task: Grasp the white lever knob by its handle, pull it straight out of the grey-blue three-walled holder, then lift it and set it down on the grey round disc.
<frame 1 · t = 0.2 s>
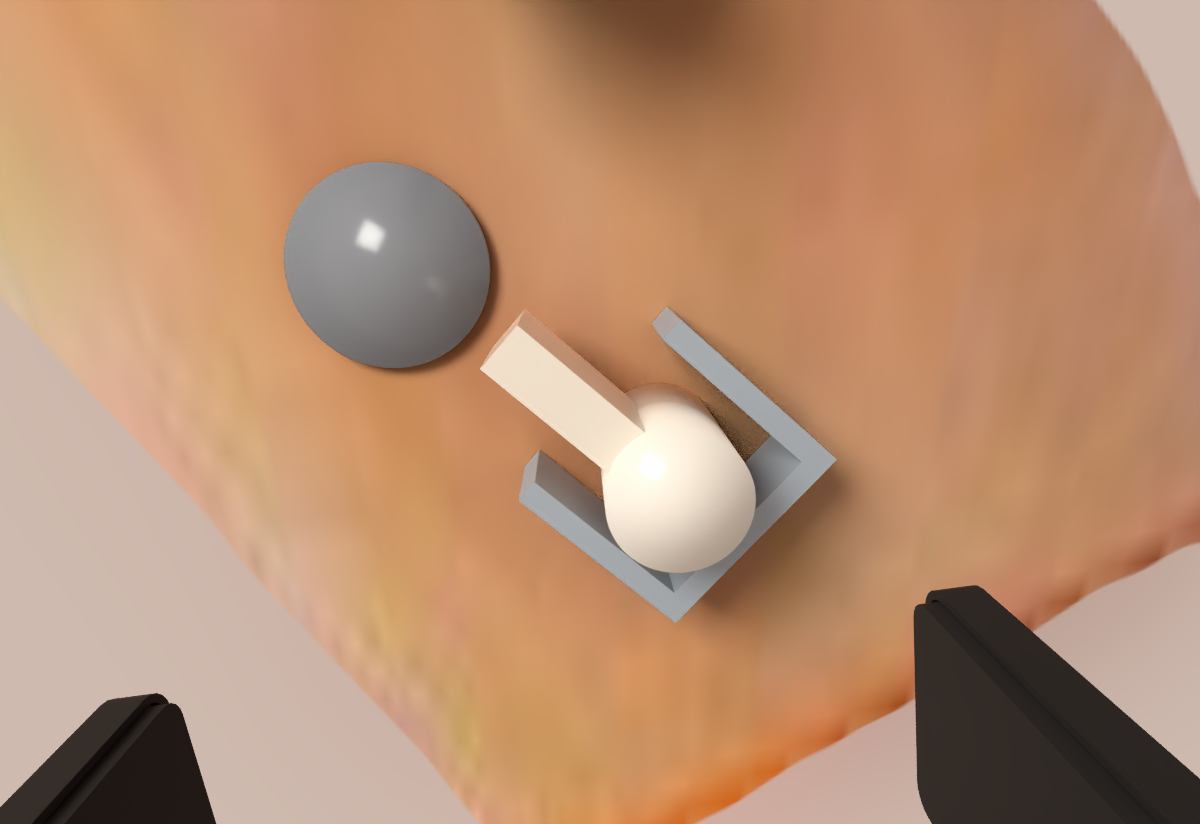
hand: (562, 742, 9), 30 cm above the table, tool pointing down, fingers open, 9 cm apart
white lever knob: (656, 440, 40), on the table
grey round disc: (390, 267, 37), on the table
holder: (657, 440, 40), on the table
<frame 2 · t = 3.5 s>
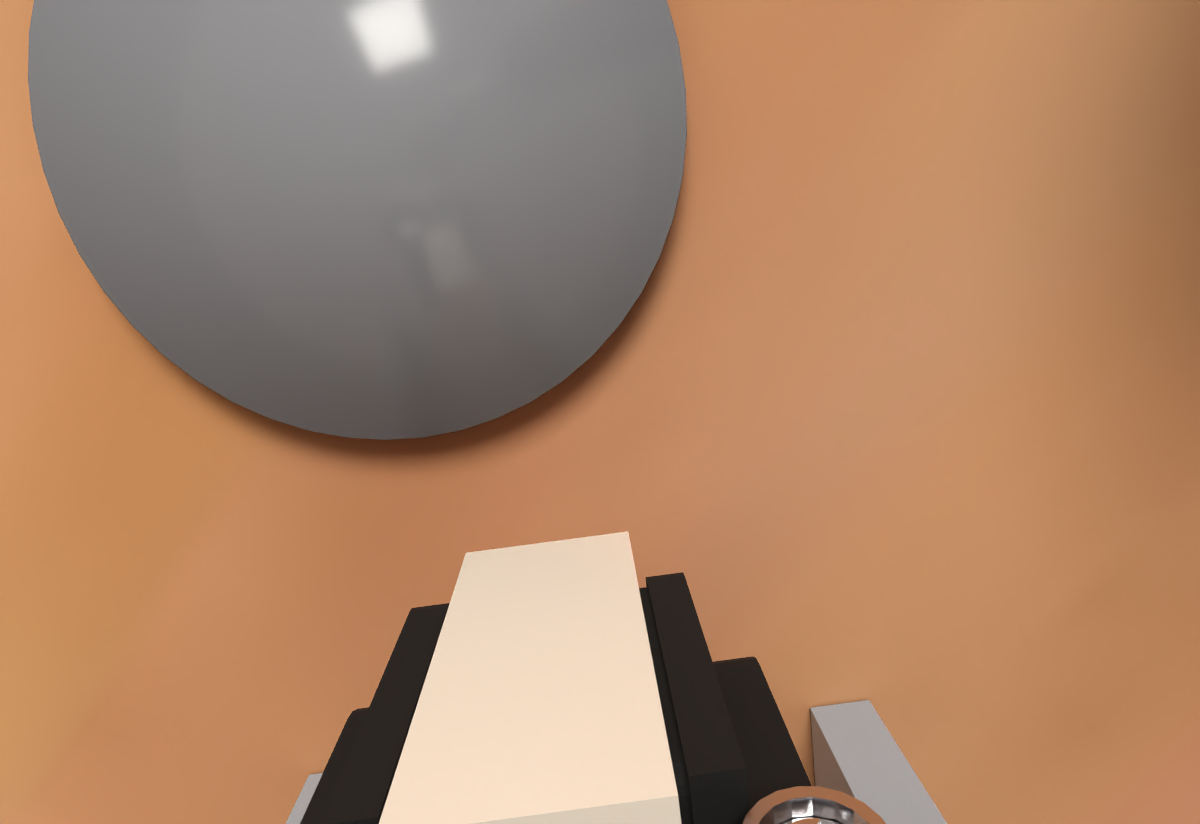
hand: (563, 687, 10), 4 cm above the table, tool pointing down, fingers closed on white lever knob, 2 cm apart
grey round disc: (375, 134, 12), on the table
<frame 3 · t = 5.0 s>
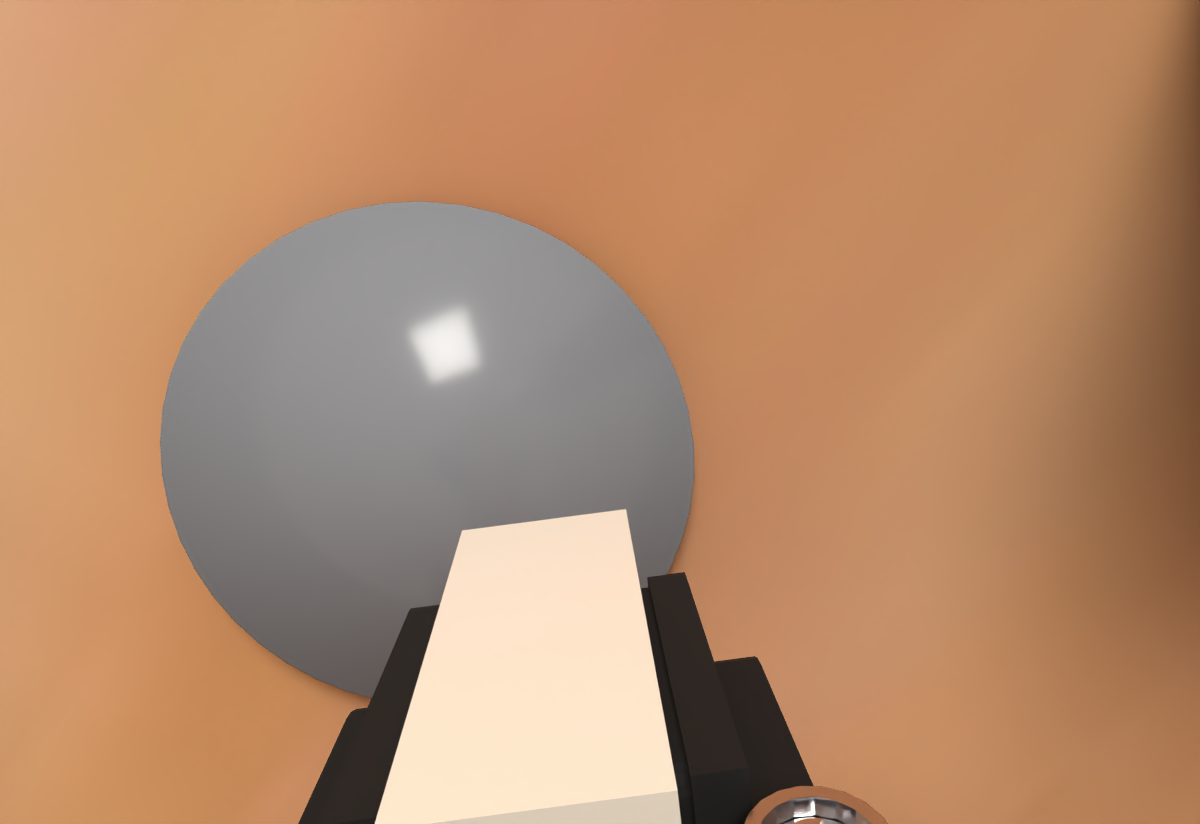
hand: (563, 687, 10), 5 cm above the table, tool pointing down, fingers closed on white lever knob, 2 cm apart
grey round disc: (437, 465, 15), on the table
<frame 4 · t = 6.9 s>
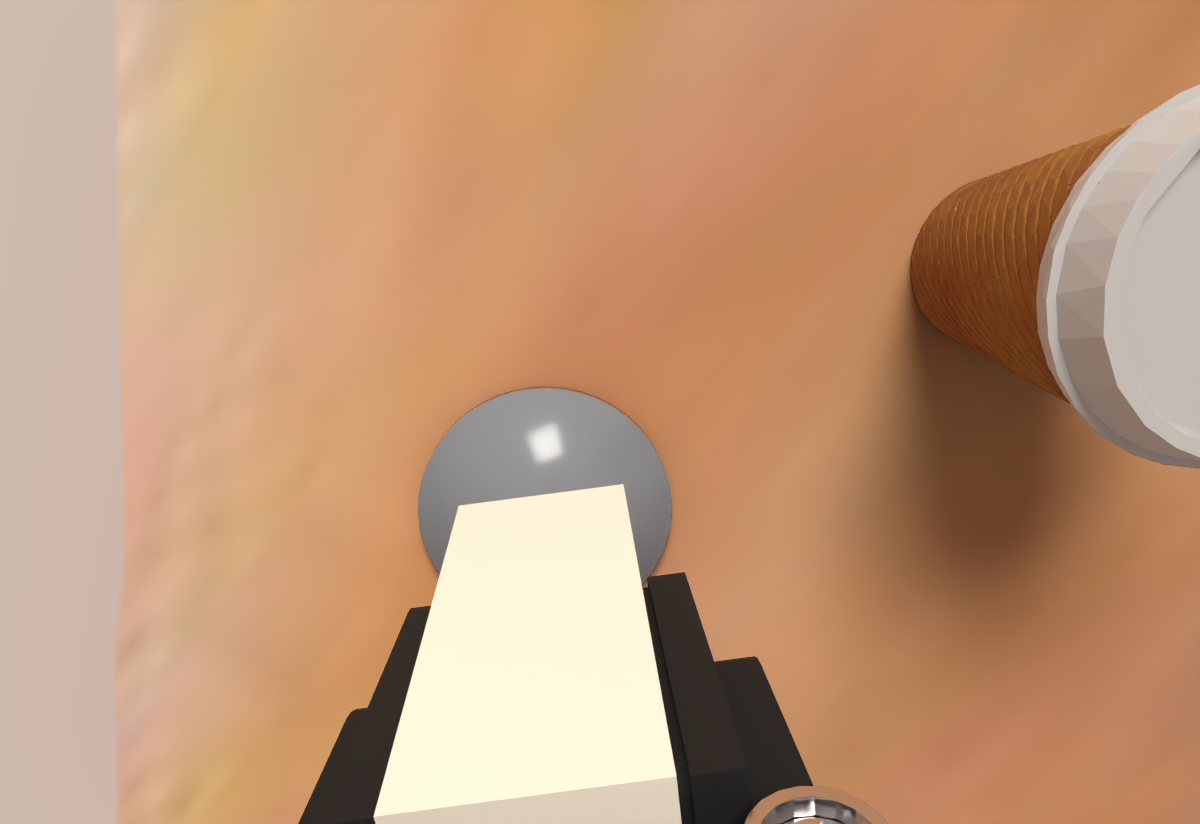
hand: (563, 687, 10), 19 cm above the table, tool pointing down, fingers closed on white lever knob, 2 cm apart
grey round disc: (546, 507, 30), on the table
disposable coffee cup: (988, 261, 28), on the table
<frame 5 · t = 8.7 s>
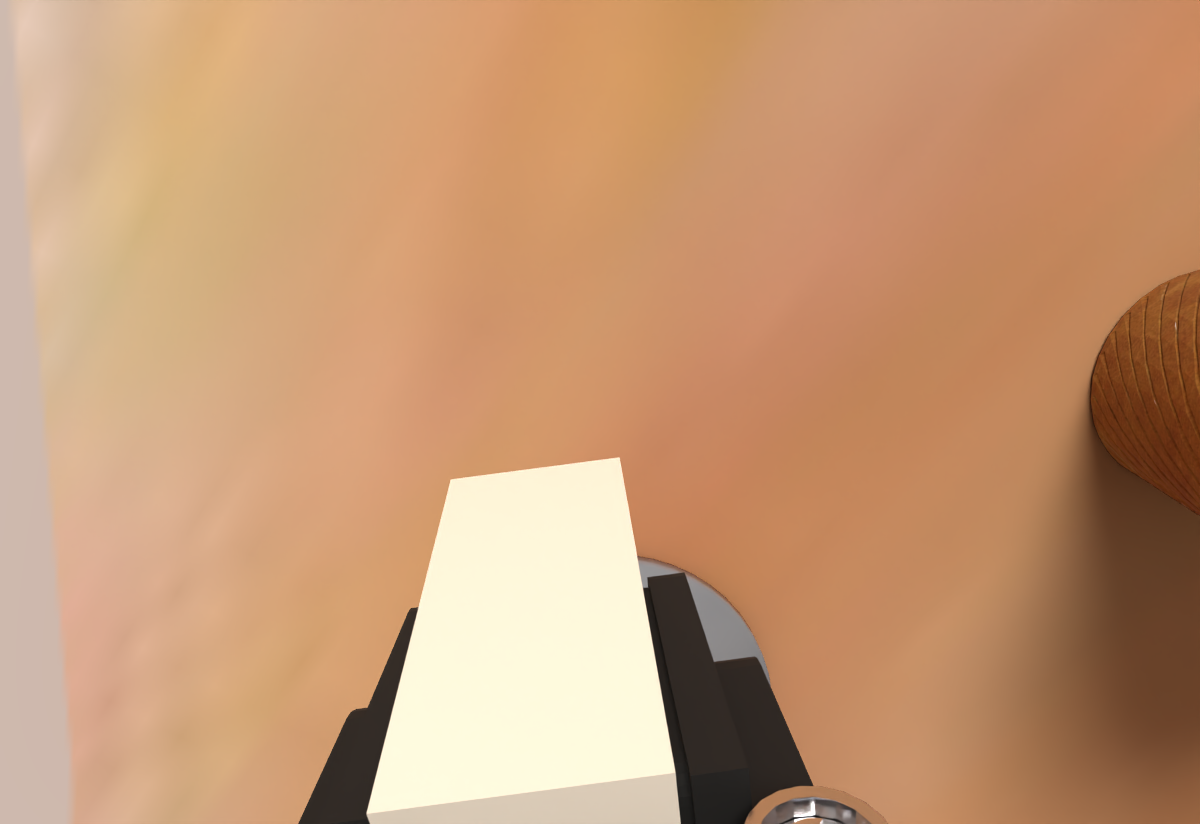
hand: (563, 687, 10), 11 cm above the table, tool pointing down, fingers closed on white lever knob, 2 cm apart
white lever knob: (603, 785, 17), point 6 cm above the table, tilted 10°, touching gripper
grey round disc: (607, 701, 23), on the table
disposable coffee cup: (1192, 377, 21), on the table
when the fingers open (6 cm above the table, at t = 10.3 s): white lever knob stays where it is, resting on grey round disc.
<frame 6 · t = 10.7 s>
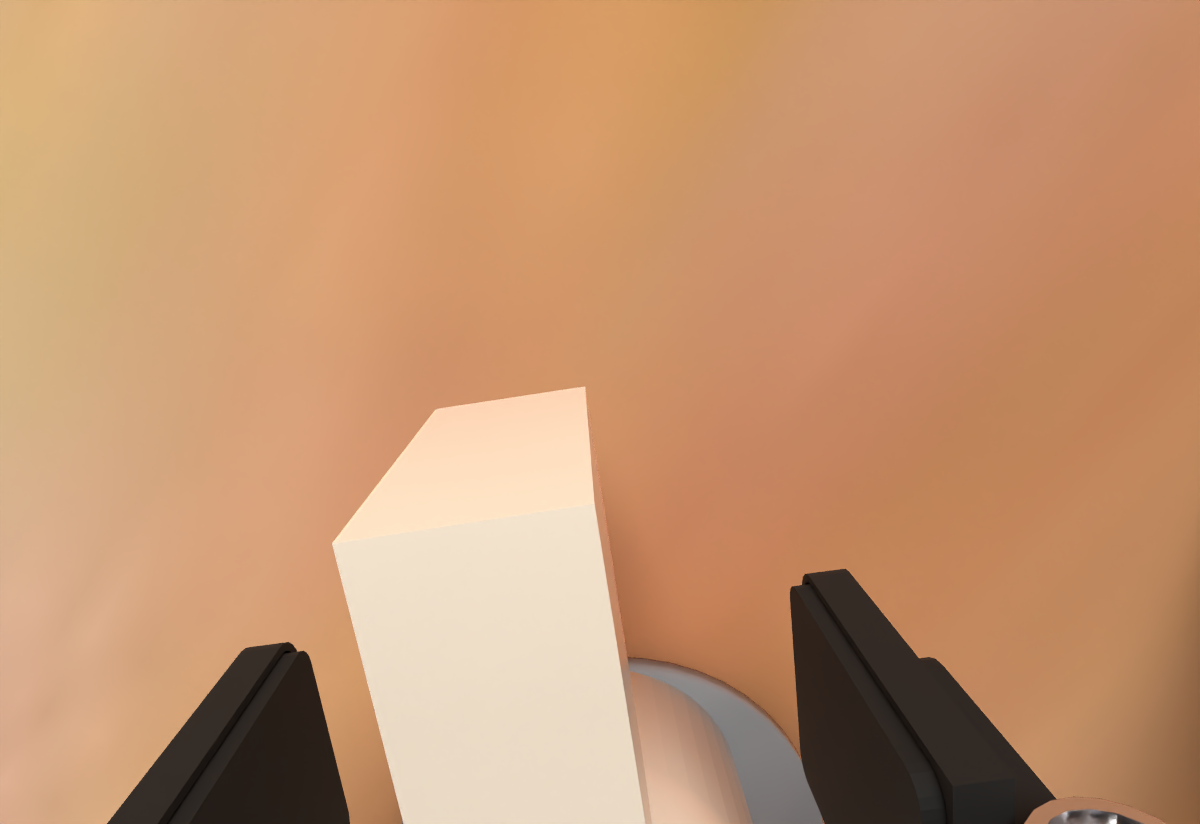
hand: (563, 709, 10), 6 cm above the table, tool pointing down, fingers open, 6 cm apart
white lever knob: (597, 793, 17), point 1 cm above the table, touching grey round disc
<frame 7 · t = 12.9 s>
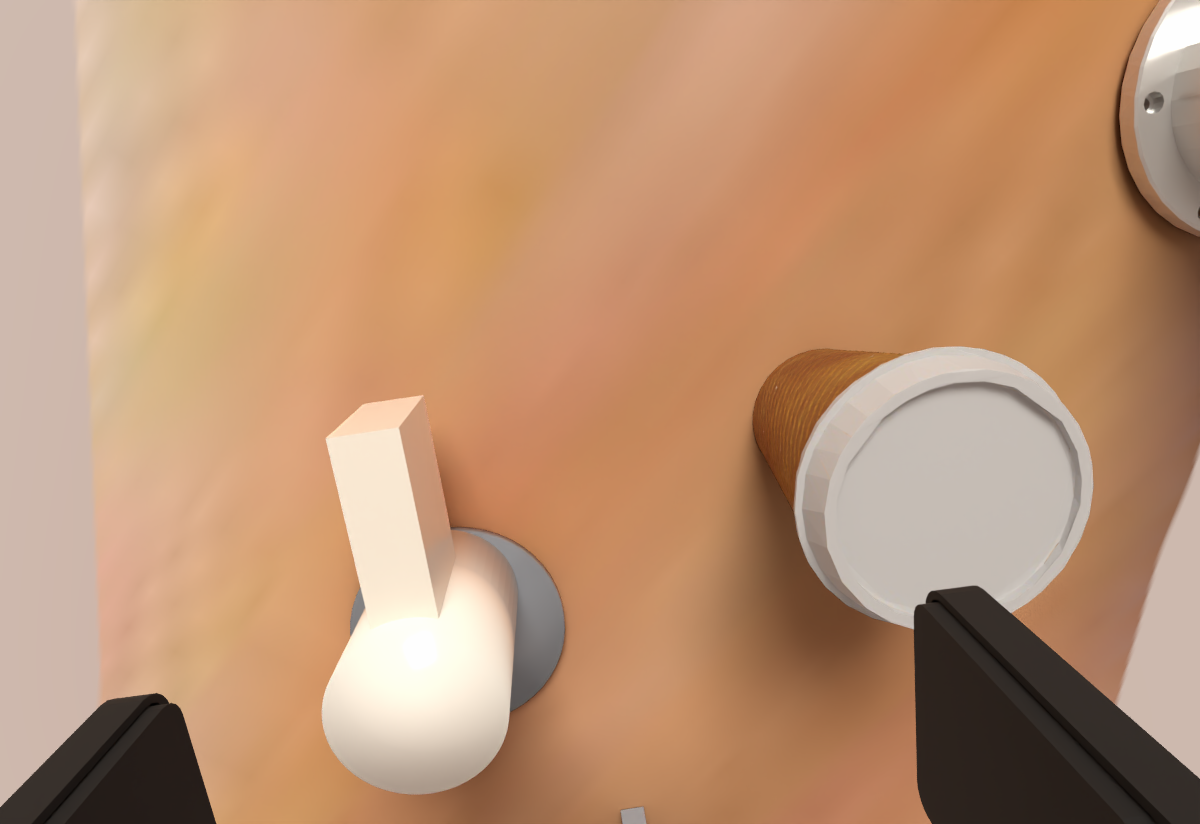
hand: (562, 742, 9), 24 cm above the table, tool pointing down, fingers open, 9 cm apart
white lever knob: (449, 594, 34), point 1 cm above the table, touching grey round disc
grey round disc: (460, 624, 35), on the table
disposable coffee cup: (817, 414, 34), on the table
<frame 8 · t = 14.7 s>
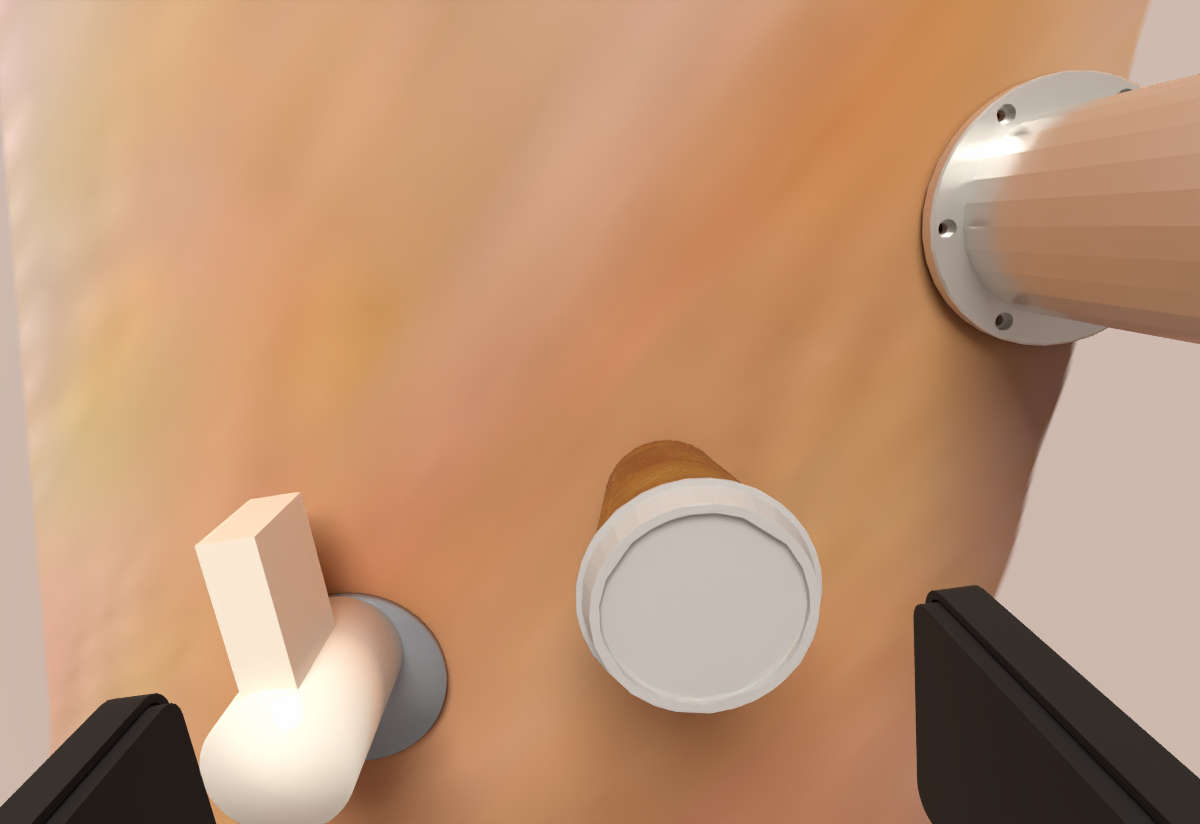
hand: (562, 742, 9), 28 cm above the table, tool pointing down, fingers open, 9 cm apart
white lever knob: (343, 650, 40), point 1 cm above the table, touching grey round disc
grey round disc: (356, 675, 41), on the table
disposable coffee cup: (664, 495, 39), on the table
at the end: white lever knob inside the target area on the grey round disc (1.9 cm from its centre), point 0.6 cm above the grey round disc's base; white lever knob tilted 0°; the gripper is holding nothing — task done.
